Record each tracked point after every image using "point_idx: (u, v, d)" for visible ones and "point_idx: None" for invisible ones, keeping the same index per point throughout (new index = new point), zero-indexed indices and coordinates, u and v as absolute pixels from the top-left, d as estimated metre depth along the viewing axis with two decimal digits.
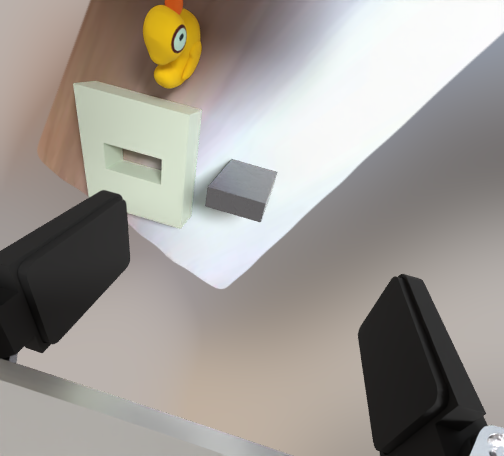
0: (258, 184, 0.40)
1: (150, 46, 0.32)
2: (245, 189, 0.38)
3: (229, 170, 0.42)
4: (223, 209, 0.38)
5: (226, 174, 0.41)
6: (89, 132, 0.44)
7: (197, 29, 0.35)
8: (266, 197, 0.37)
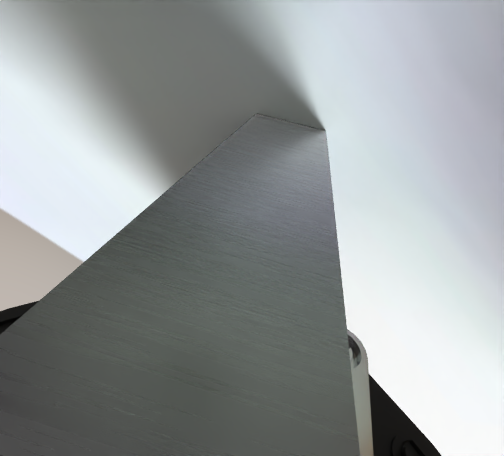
0: None
1: None
2: None
3: None
4: None
5: None
6: None
7: None
8: None
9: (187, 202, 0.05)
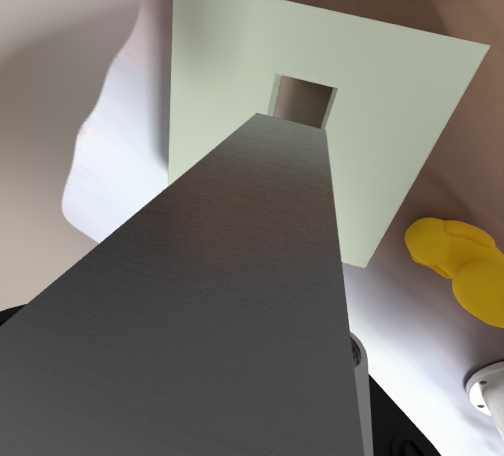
0: None
1: (494, 297, 0.20)
2: None
3: None
4: None
5: None
6: (367, 52, 0.18)
7: None
8: None
9: (189, 196, 0.05)
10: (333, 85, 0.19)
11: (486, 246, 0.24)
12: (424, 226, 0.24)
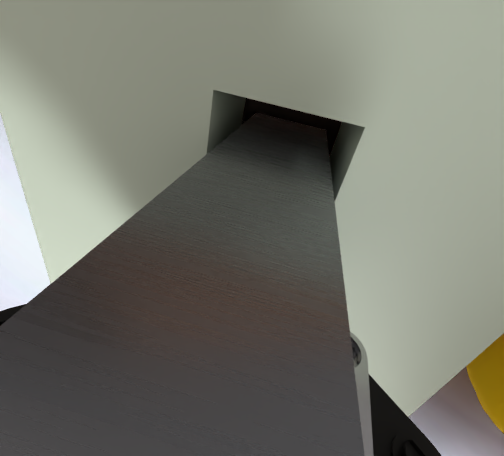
0: None
1: None
2: None
3: None
4: None
5: None
6: (450, 37, 0.06)
7: None
8: None
9: (189, 196, 0.05)
10: (353, 120, 0.08)
11: None
12: None
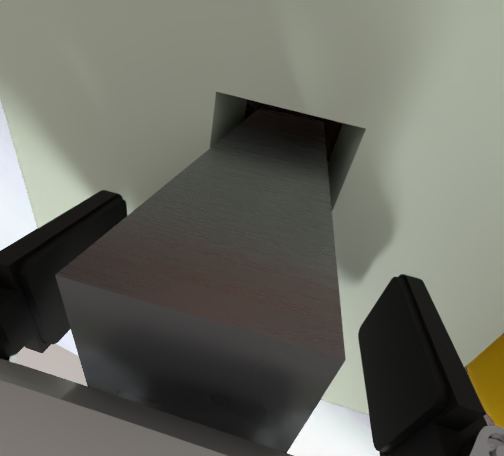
0: None
1: None
2: None
3: None
4: None
5: None
6: (450, 40, 0.07)
7: None
8: None
9: (211, 168, 0.06)
10: (354, 121, 0.08)
11: None
12: None
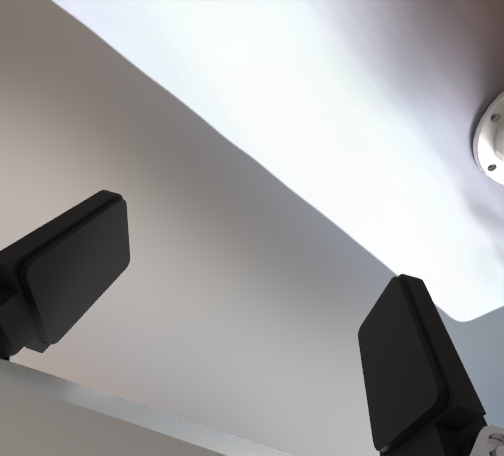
0: None
1: None
2: None
3: None
4: None
5: None
6: None
7: None
8: None
9: None
10: None
11: None
12: None
